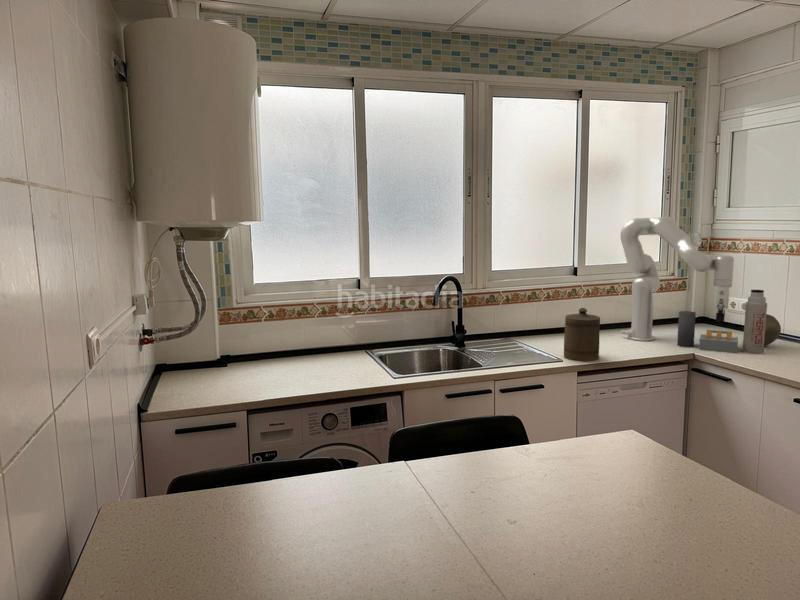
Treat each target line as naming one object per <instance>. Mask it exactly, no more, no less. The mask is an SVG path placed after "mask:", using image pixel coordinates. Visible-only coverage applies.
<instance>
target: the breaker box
mask: <svg viewBox="0 0 800 600" xmlns="http://www.w3.org/2000/svg"><path fill="white" fill-rule="evenodd" d="M716 336H717V334H716V333H712V337H707V333H701V334H700V337H699V344H698V345H699V346H698V350H699V351H710V352H718V353H719V352H721V353H732V354H738V348H739V347H738V345H739V344H738V343H739V337H738V336H736V335H732V339H726V338H727V334H722V337H721V338H716Z"/></svg>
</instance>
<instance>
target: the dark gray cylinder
mask: <svg viewBox="0 0 800 600" xmlns="http://www.w3.org/2000/svg"><path fill="white" fill-rule="evenodd" d="M696 316H697V315H696V312H695V311H692V310H691V311H689V310H680V311H678V324H677V338H676V339H677V340H676V341H677V342H676V346H678V347H680V348H681V347H682V348H694V347H695V346H694V345H695V331H696V330H695V329H696Z"/></svg>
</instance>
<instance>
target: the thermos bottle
mask: <svg viewBox="0 0 800 600" xmlns="http://www.w3.org/2000/svg"><path fill="white" fill-rule="evenodd" d="M764 292H765V291H764V290H763V289H750V296H748V297H747V301H746V302H745V312H744V313H745V315H744V323H743V325H744V327H743V339H742V353H743V352H744V353H746V354H747V353H748V354H755V355H761V354H764V350H765V349H764V348H765V346H764V339H765V326H766V314H767V310H768V303H767V302H766V301H767V299H766V297H765V296H764V295H765V293H764Z"/></svg>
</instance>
